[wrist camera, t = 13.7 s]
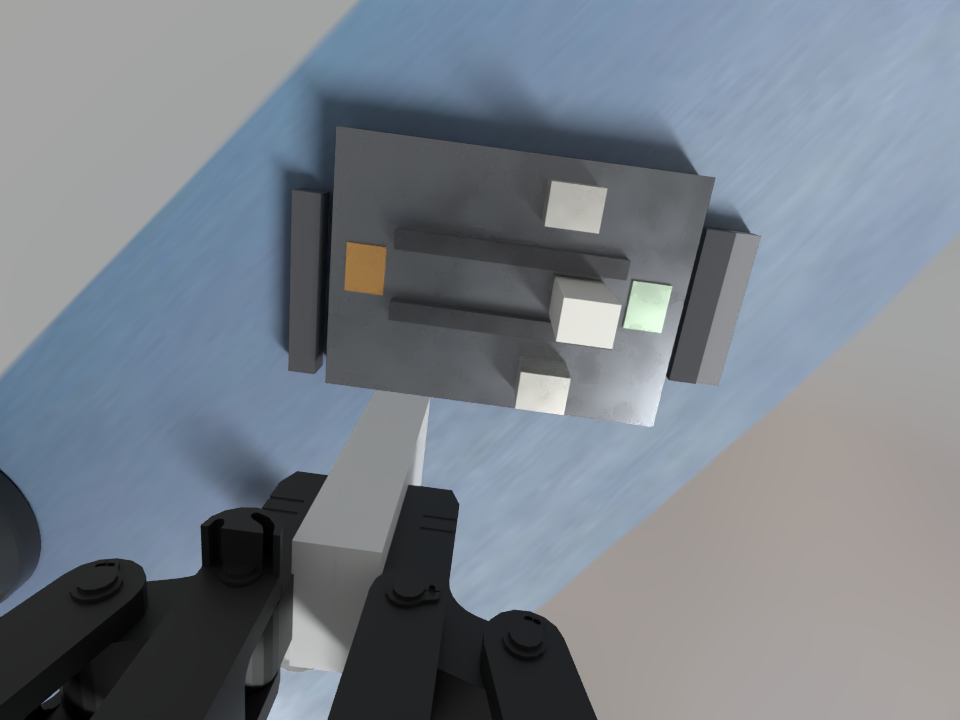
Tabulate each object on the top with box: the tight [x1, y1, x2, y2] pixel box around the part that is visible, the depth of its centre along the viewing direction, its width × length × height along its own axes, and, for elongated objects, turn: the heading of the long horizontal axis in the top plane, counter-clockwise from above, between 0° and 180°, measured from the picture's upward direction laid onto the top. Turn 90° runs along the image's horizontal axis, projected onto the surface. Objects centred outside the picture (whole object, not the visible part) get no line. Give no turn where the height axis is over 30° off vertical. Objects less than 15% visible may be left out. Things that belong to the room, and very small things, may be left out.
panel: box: [325, 126, 715, 427], centre depth 36 cm, size 22×16×6 cm
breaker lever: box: [548, 275, 622, 349], centre depth 33 cm, size 3×2×6 cm
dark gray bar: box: [288, 188, 329, 374], centre depth 39 cm, size 2×12×2 cm, turn 173°
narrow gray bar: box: [666, 227, 761, 386], centre depth 38 cm, size 3×10×2 cm, turn 173°
